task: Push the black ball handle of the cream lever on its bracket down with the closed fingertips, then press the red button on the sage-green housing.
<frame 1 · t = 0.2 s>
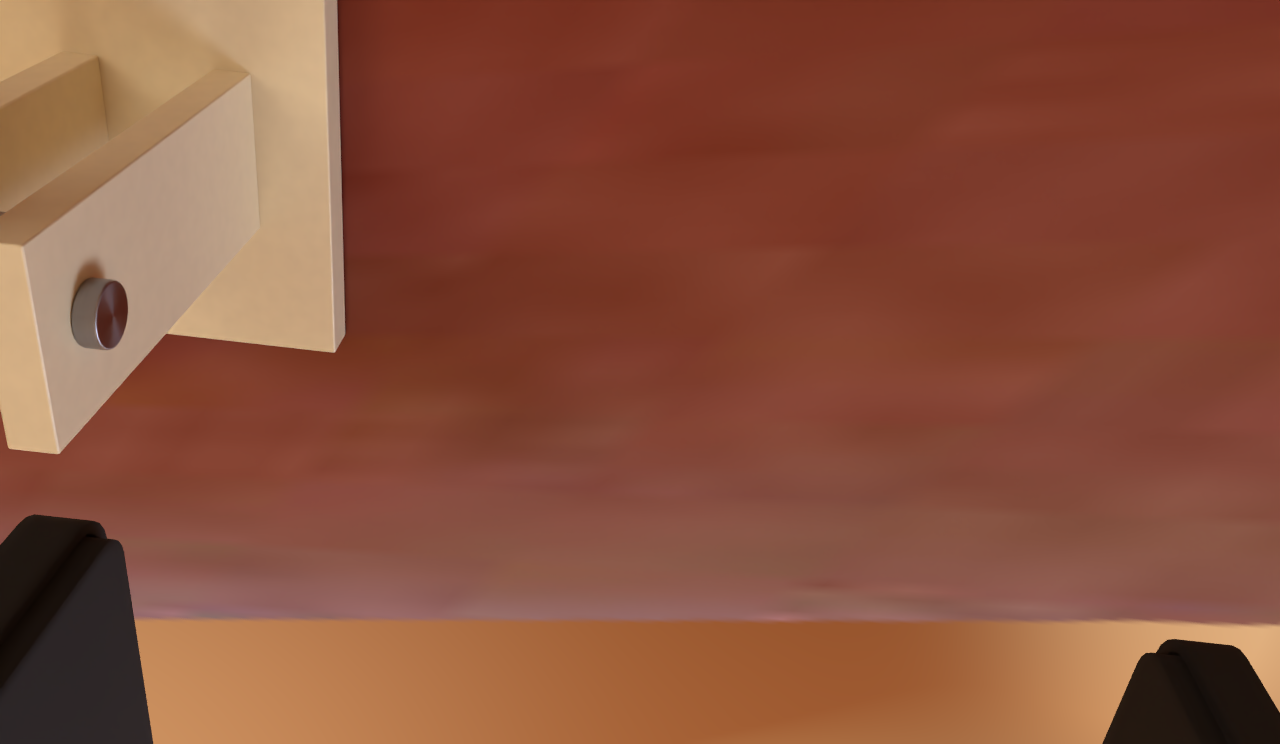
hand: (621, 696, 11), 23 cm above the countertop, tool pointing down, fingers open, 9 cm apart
bracket: (181, 129, 32), on the countertop
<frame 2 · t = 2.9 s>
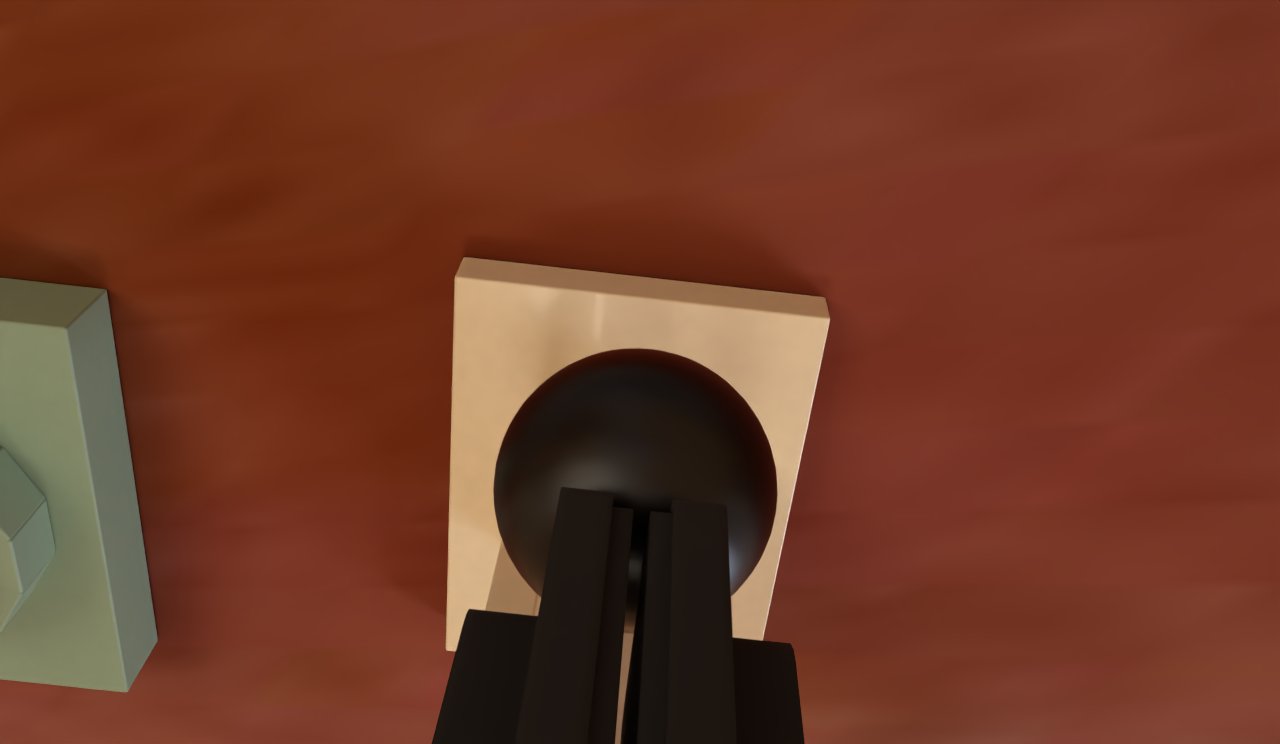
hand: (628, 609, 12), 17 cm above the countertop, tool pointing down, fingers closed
lever: (607, 686, 17), point 13 cm above the countertop, hinge at 20.8°, touching gripper
bracket: (621, 474, 31), on the countertop
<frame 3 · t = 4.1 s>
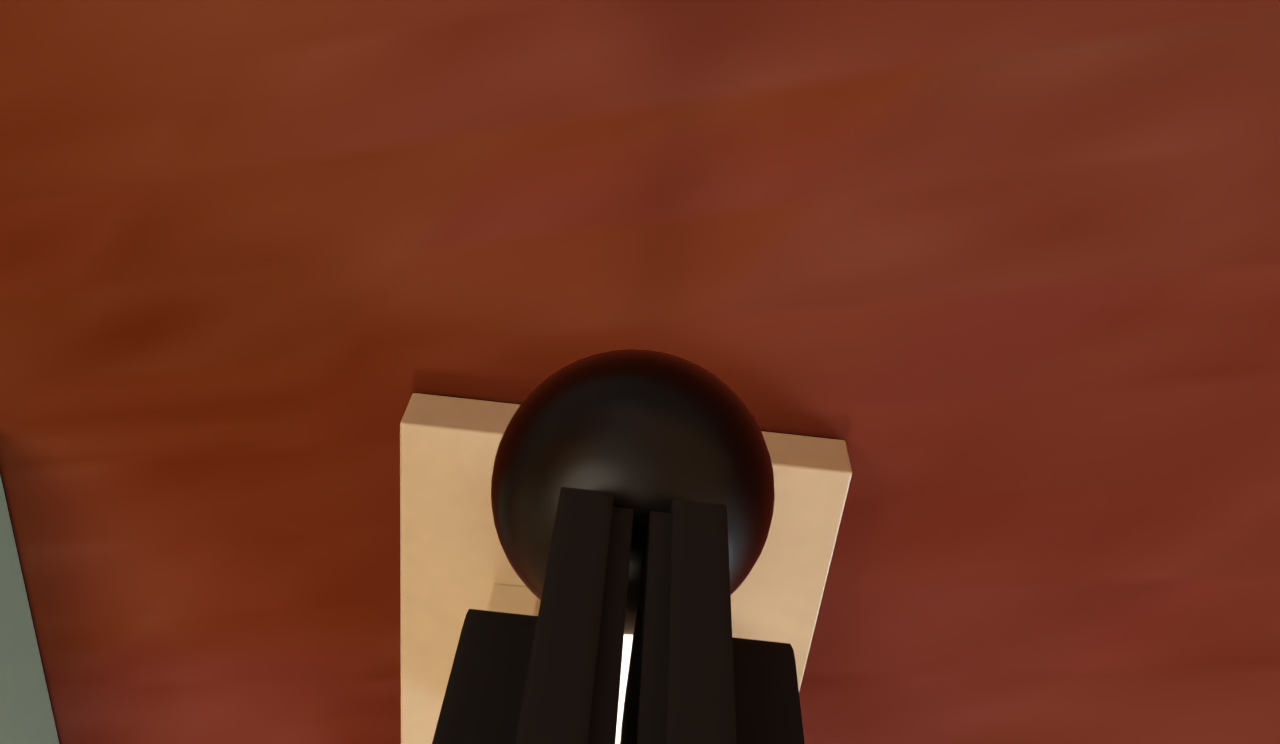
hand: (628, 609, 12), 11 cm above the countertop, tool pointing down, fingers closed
bracket: (604, 632, 26), on the countertop
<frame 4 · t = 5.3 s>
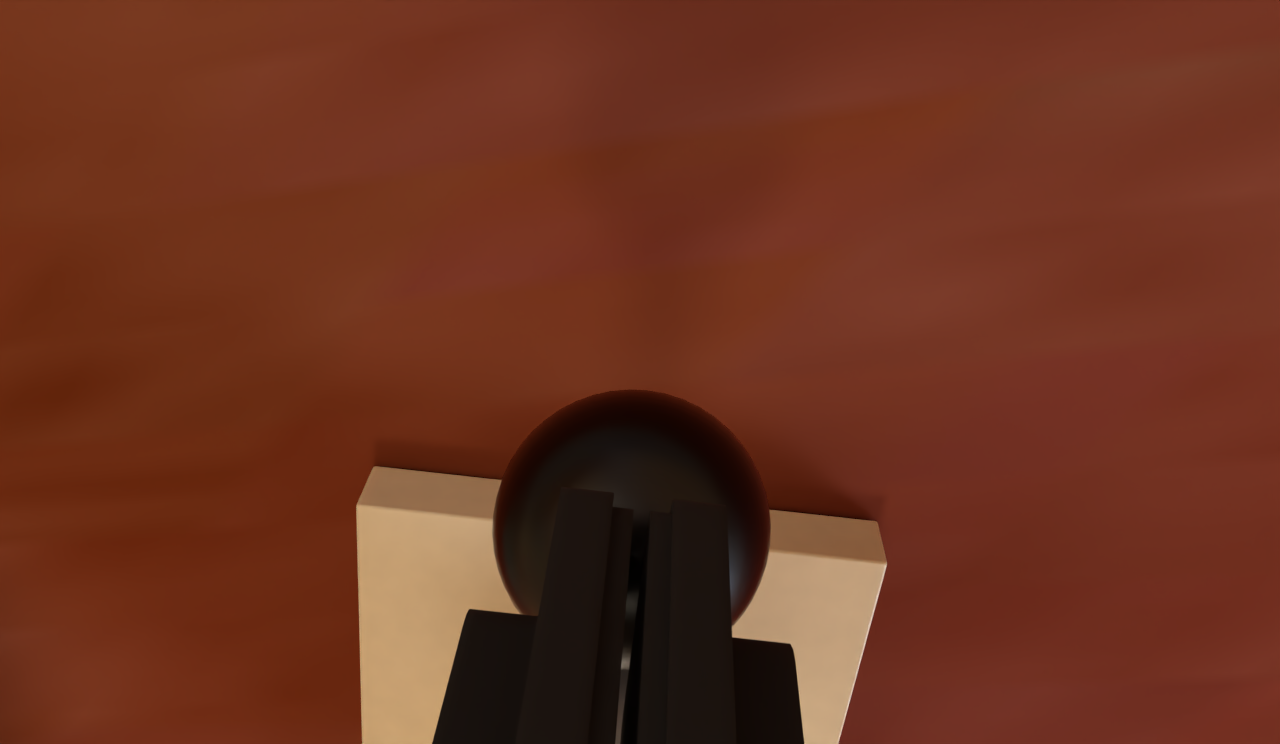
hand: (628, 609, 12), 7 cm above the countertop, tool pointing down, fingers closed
bracket: (597, 731, 23), on the countertop
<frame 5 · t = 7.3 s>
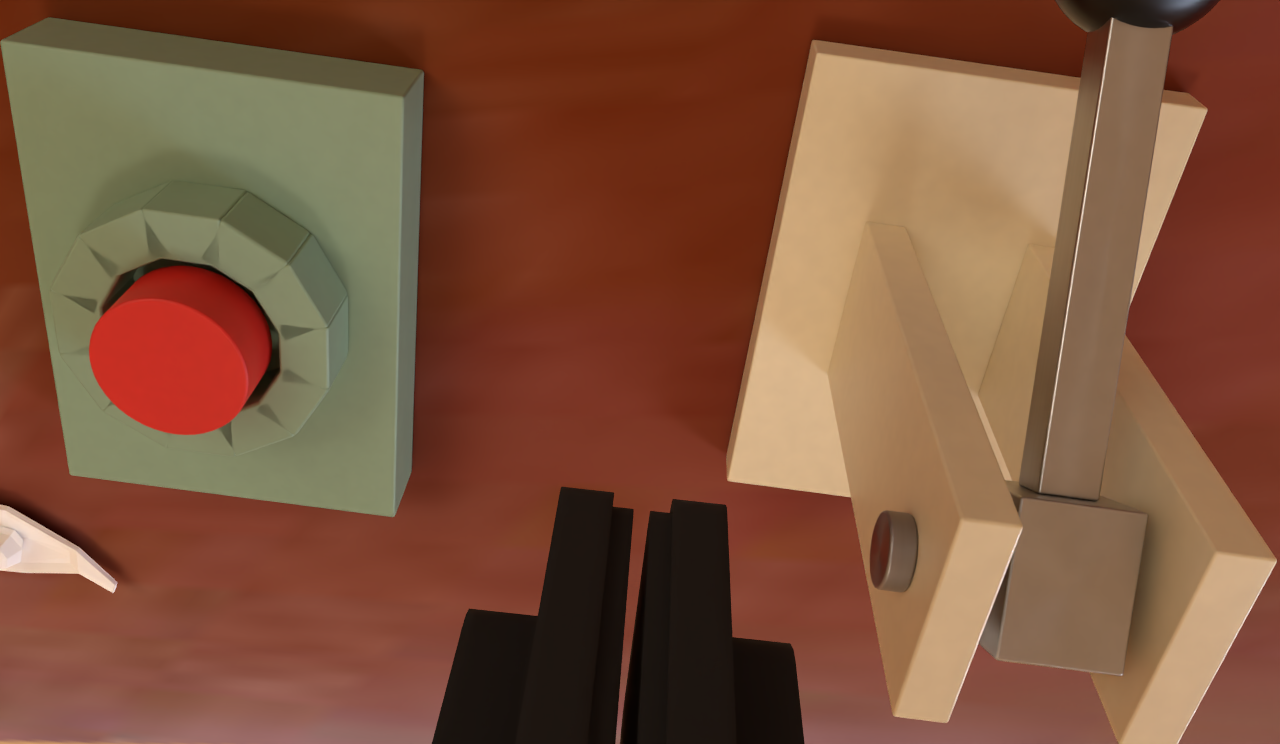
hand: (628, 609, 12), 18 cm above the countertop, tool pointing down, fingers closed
button: (183, 350, 26), point 4 cm above the countertop, slide at 0.1 cm
button box: (249, 268, 30), on the countertop
lever: (1094, 257, 20), point 8 cm above the countertop, hinge at -27.9°
bracket: (934, 292, 30), on the countertop
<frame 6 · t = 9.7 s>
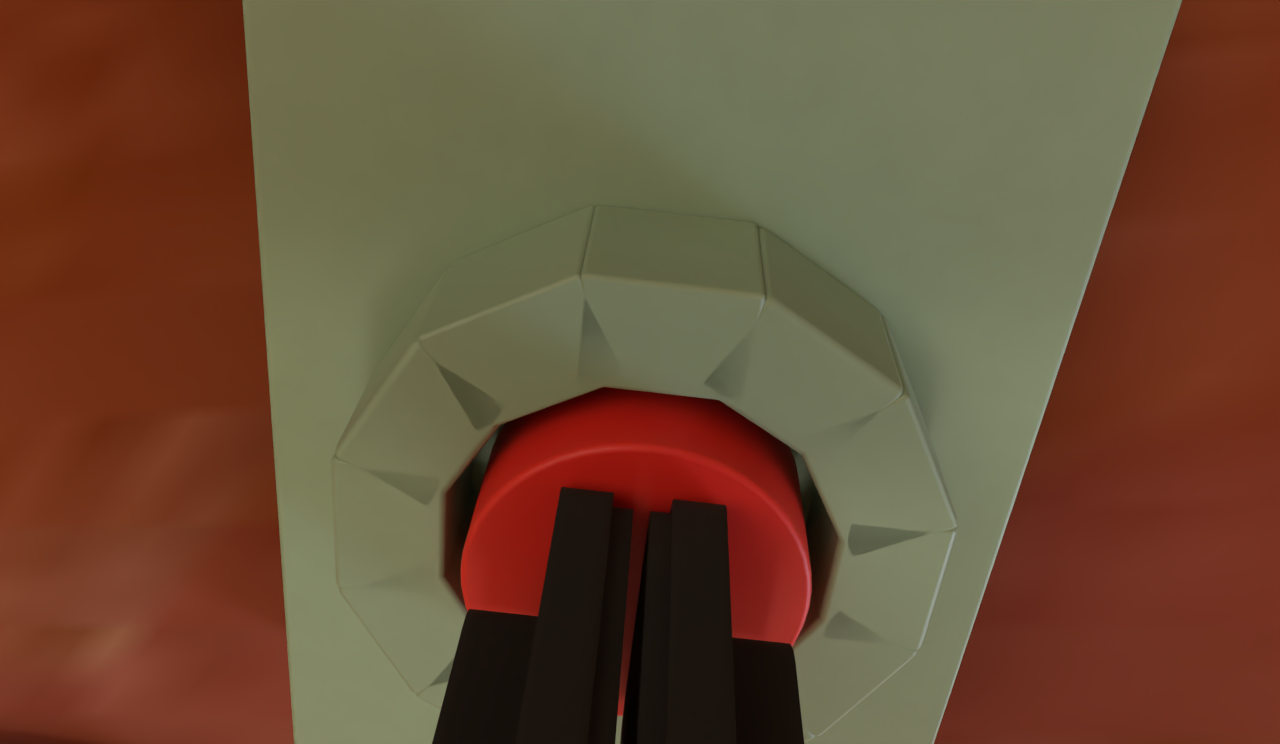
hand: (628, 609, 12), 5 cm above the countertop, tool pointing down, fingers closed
button: (638, 540, 12), point 4 cm above the countertop, slide at -0.7 cm, touching gripper
button box: (650, 373, 15), on the countertop
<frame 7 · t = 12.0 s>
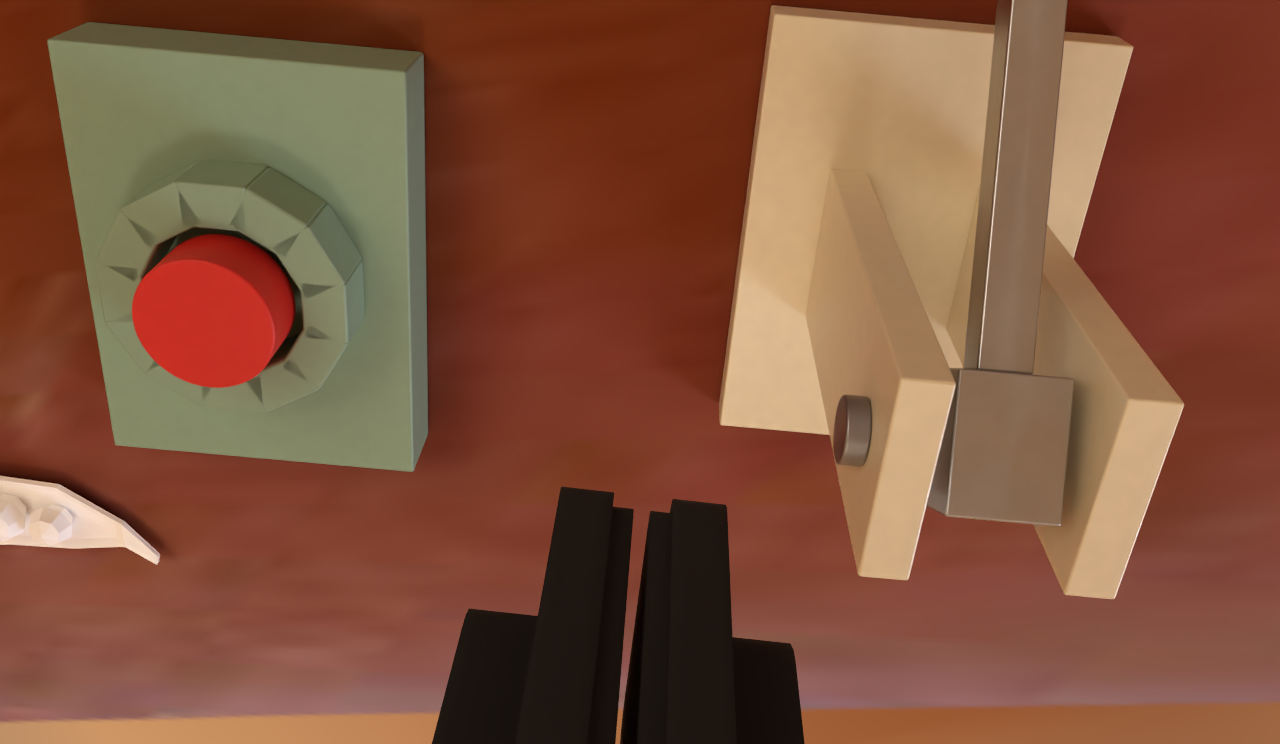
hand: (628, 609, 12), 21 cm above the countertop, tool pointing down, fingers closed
button: (216, 311, 29), point 4 cm above the countertop, slide at 0.1 cm
button box: (272, 245, 33), on the countertop
lever: (1017, 160, 22), point 8 cm above the countertop, hinge at -27.9°
bracket: (900, 237, 32), on the countertop
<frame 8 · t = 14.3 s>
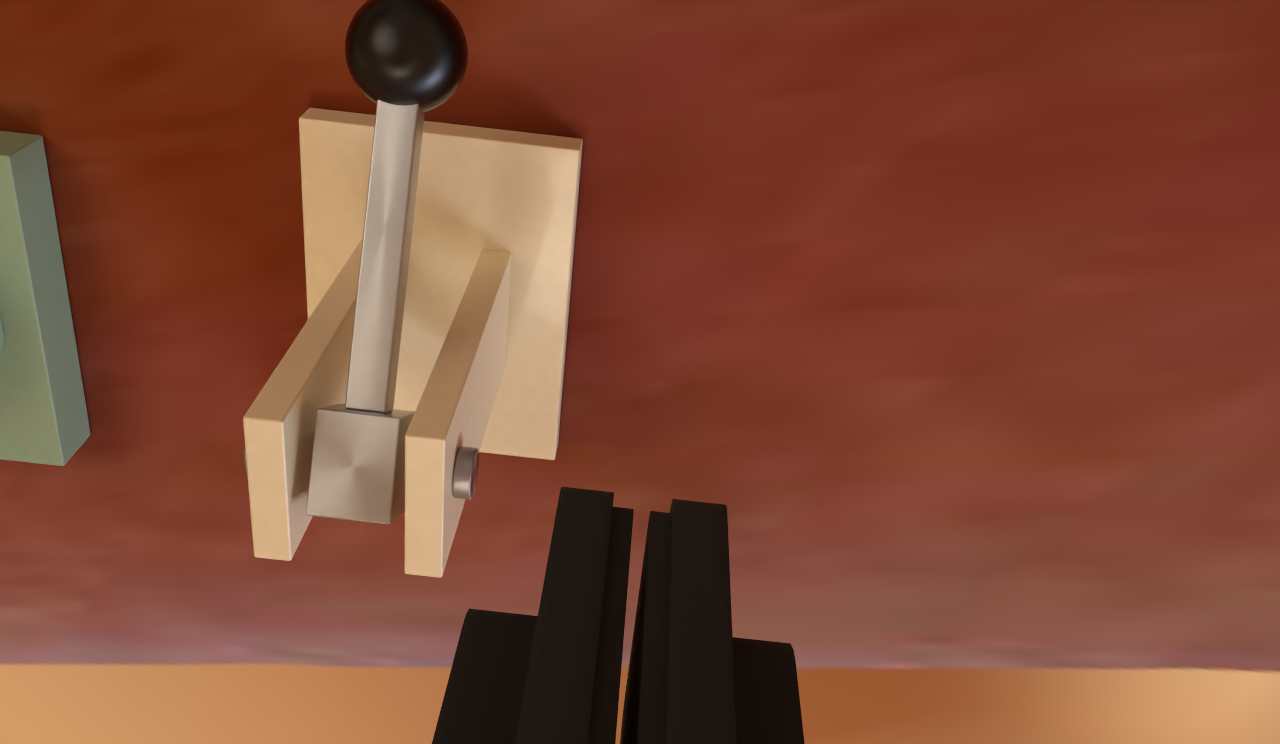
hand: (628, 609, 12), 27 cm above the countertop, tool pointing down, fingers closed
lever: (385, 254, 30), point 8 cm above the countertop, hinge at -27.9°
bracket: (443, 287, 40), on the countertop
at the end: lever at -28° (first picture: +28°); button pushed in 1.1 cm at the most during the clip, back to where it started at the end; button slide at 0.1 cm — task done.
